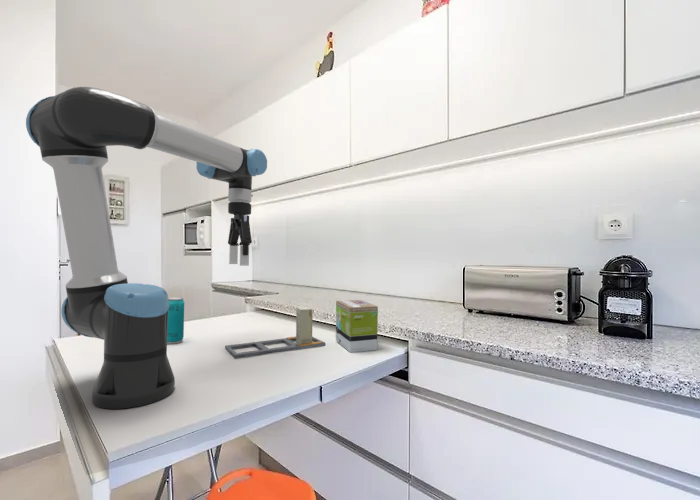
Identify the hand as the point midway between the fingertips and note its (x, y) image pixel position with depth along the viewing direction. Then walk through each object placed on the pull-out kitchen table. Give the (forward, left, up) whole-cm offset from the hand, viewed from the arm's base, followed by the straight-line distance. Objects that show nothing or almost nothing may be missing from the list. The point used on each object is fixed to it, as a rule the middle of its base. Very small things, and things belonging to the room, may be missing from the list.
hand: (238, 264), depth 119 cm
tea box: (-22, -34, -27) cm, 49 cm away
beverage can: (+11, +18, -27) cm, 34 cm away
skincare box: (-11, -20, -27) cm, 35 cm away
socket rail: (-11, -10, -27) cm, 31 cm away
